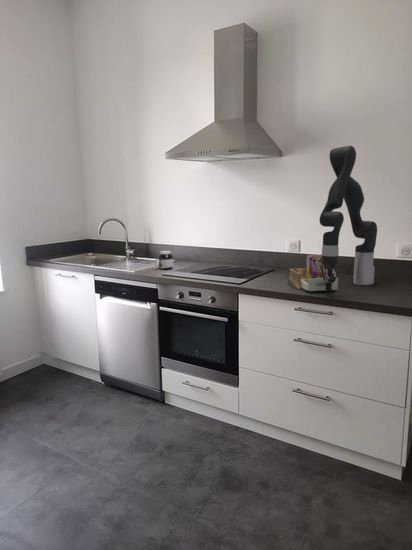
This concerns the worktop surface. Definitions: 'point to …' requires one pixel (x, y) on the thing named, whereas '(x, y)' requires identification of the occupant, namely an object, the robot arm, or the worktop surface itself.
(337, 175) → the robot arm
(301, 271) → the caddy
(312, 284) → the white boxy piece
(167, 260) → the spread jar
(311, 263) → the candy box
